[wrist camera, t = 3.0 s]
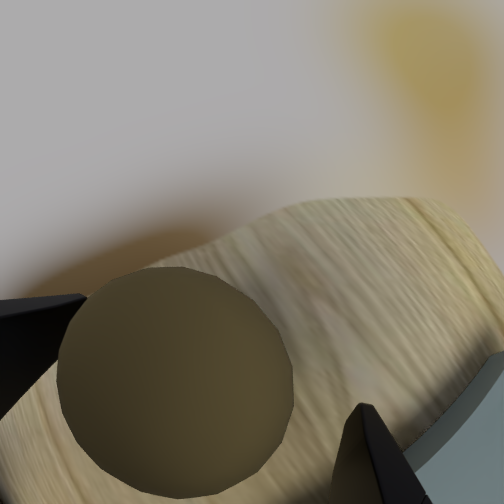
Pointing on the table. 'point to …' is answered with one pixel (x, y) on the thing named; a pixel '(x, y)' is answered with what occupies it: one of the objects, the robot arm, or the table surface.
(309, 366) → the table surface
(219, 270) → the table surface
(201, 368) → the cork
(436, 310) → the table surface
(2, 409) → the robot arm
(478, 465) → the slate tray
